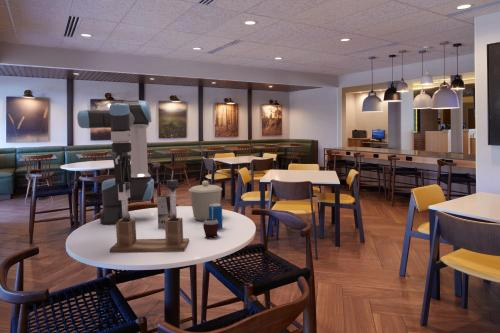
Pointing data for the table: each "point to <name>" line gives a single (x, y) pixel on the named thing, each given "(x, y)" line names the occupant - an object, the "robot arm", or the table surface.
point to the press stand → (131, 244)
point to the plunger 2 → (173, 198)
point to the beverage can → (216, 213)
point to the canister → (204, 199)
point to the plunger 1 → (125, 204)
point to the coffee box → (163, 209)
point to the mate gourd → (211, 226)
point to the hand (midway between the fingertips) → (124, 198)
